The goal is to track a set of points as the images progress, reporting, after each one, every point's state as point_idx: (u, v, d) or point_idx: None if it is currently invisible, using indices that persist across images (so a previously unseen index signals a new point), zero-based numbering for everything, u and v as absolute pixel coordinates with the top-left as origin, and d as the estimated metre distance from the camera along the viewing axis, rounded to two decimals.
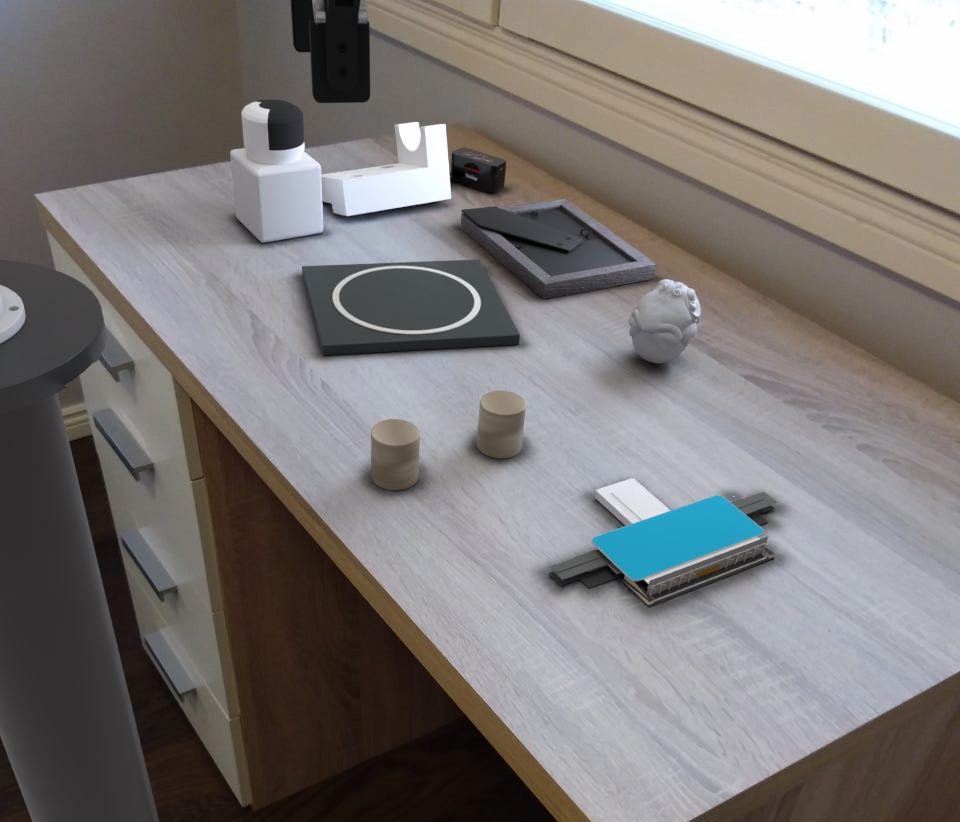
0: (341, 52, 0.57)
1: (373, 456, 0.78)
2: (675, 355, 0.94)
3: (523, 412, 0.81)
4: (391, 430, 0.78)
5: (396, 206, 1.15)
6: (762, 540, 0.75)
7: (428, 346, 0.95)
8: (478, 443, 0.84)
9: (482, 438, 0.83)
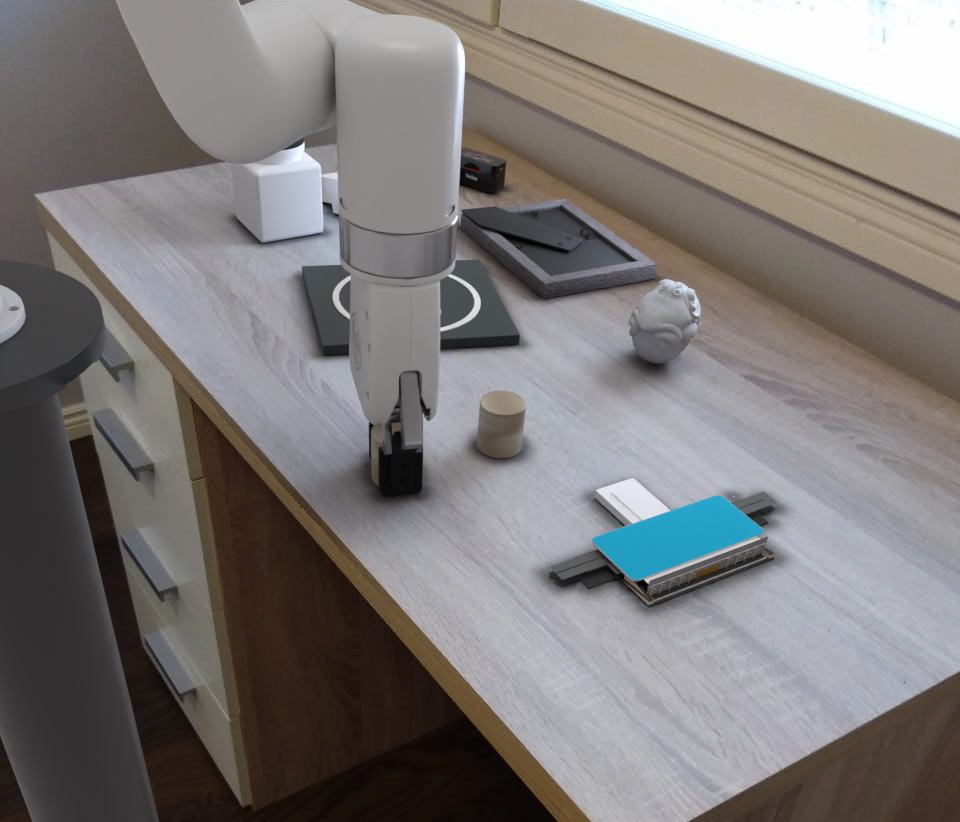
0: (402, 469, 0.76)
1: (373, 456, 0.78)
2: (675, 355, 0.94)
3: (523, 412, 0.81)
4: None
5: None
6: (762, 540, 0.75)
7: None
8: (478, 443, 0.84)
9: (482, 438, 0.83)
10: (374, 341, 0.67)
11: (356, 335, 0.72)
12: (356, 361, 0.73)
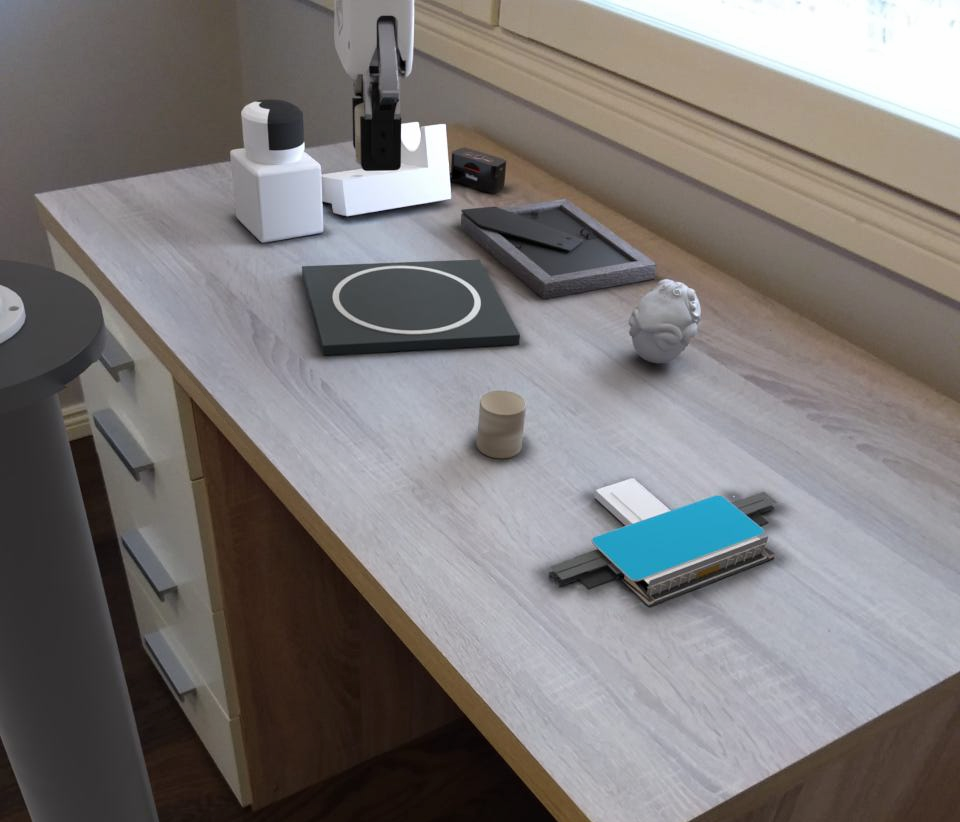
0: (381, 138, 0.83)
1: (356, 133, 0.85)
2: (675, 355, 0.94)
3: (523, 412, 0.81)
4: None
5: (396, 206, 1.15)
6: (762, 540, 0.75)
7: (428, 346, 0.95)
8: (478, 443, 0.84)
9: (482, 438, 0.83)
10: None
11: None
12: (339, 26, 0.80)
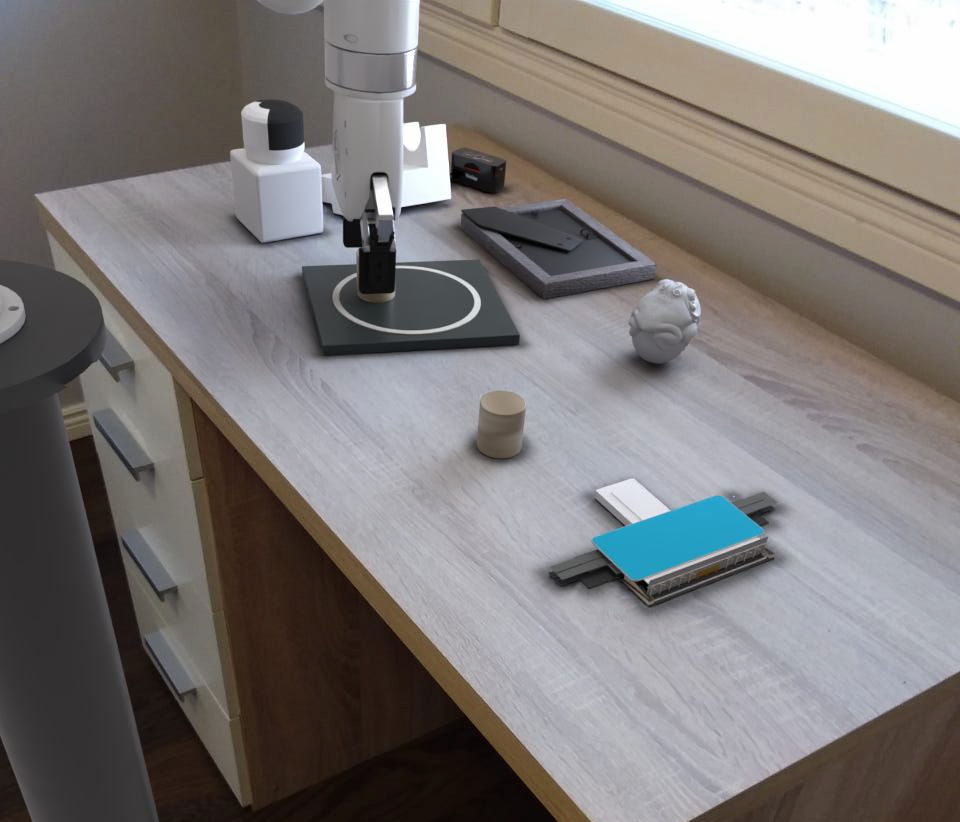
0: (378, 267, 0.92)
1: (358, 273, 0.98)
2: (675, 355, 0.94)
3: (523, 412, 0.81)
4: None
5: None
6: (762, 540, 0.75)
7: (428, 346, 0.95)
8: (478, 443, 0.84)
9: (482, 438, 0.83)
10: (351, 144, 0.86)
11: (337, 149, 0.90)
12: (337, 173, 0.92)
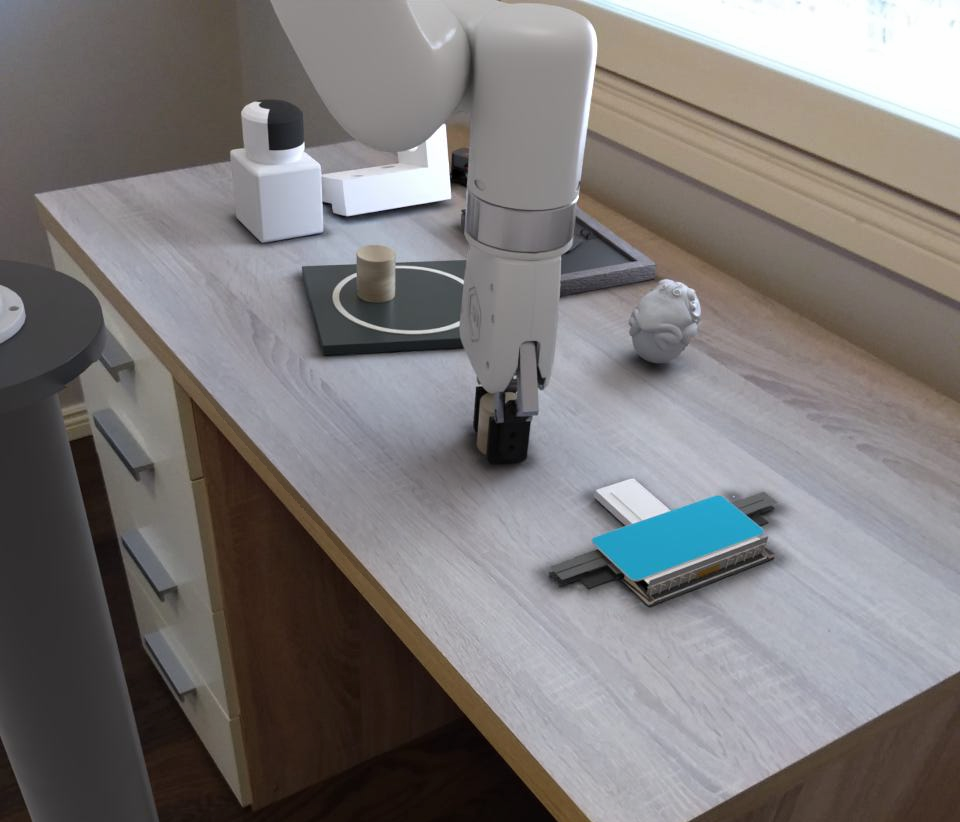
0: (511, 438, 0.80)
1: (358, 273, 0.98)
2: (675, 355, 0.94)
3: None
4: (372, 252, 0.97)
5: (396, 206, 1.15)
6: (762, 540, 0.75)
7: (428, 346, 0.95)
8: (478, 443, 0.84)
9: (482, 438, 0.83)
10: (498, 312, 0.71)
11: (474, 308, 0.76)
12: (472, 333, 0.77)
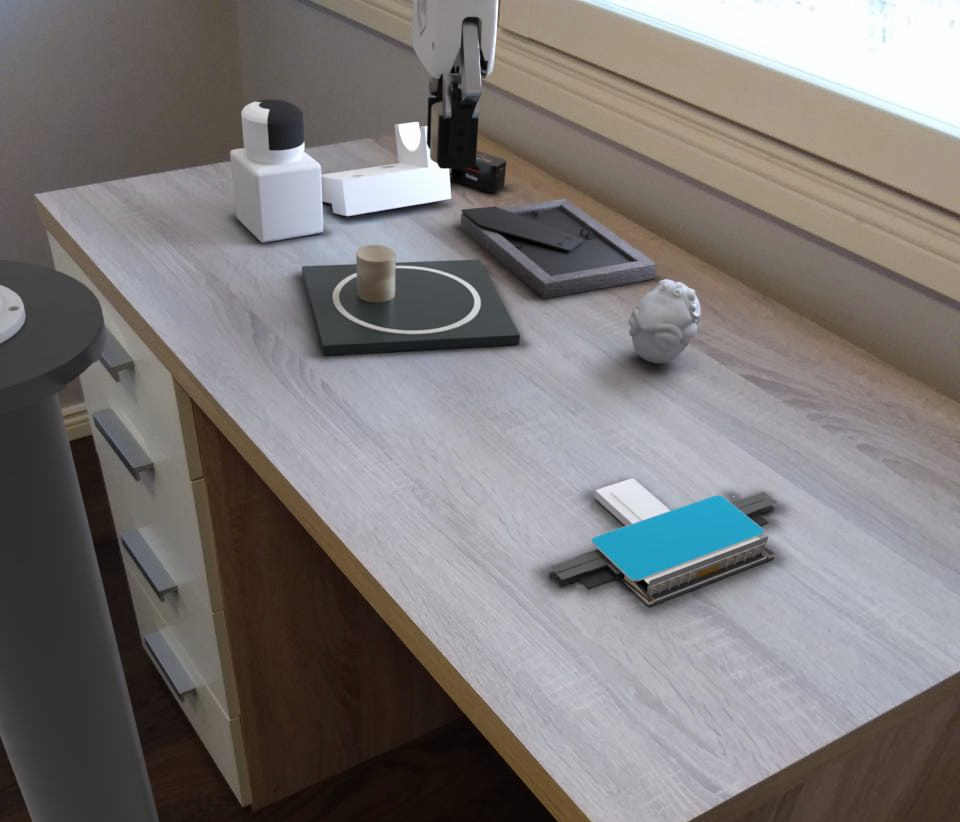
0: (459, 137, 0.85)
1: (358, 273, 0.98)
2: (675, 355, 0.94)
3: None
4: (372, 252, 0.97)
5: (396, 206, 1.15)
6: (762, 540, 0.75)
7: (428, 346, 0.95)
8: (431, 152, 0.88)
9: (434, 145, 0.88)
10: None
11: None
12: (421, 27, 0.82)
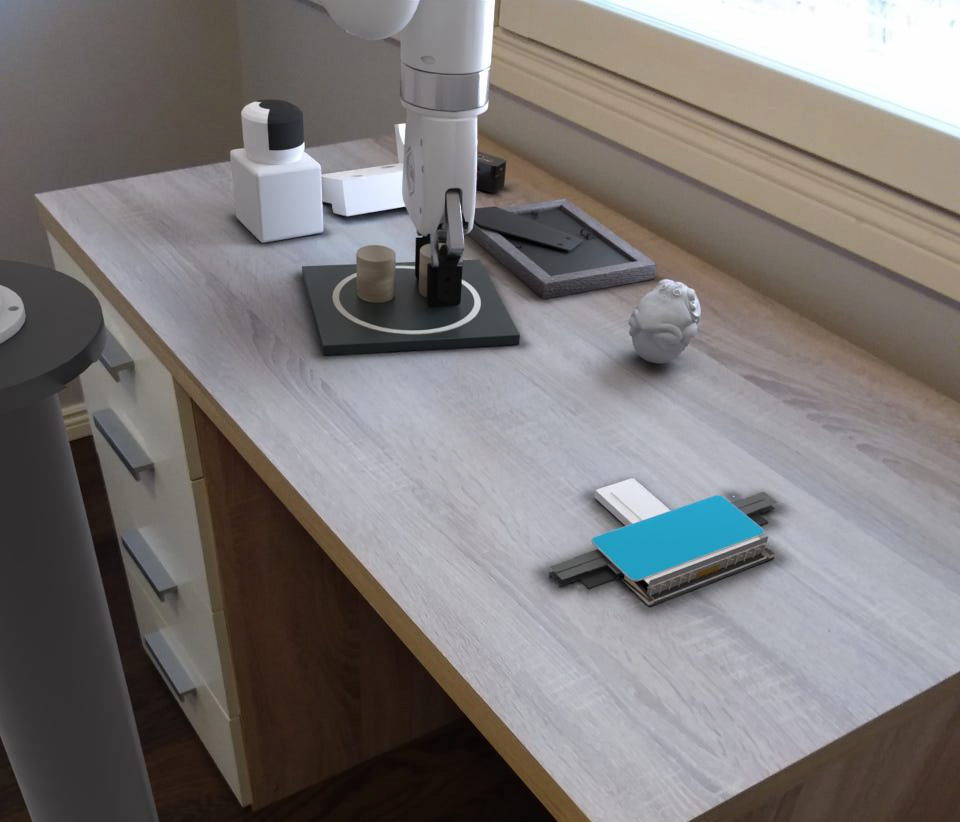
0: (446, 281, 0.97)
1: (358, 273, 0.98)
2: (675, 355, 0.94)
3: None
4: (372, 252, 0.97)
5: (396, 206, 1.15)
6: (762, 540, 0.75)
7: (428, 346, 0.95)
8: (420, 287, 1.00)
9: (422, 282, 0.99)
10: (427, 162, 0.88)
11: (410, 166, 0.92)
12: (410, 189, 0.94)
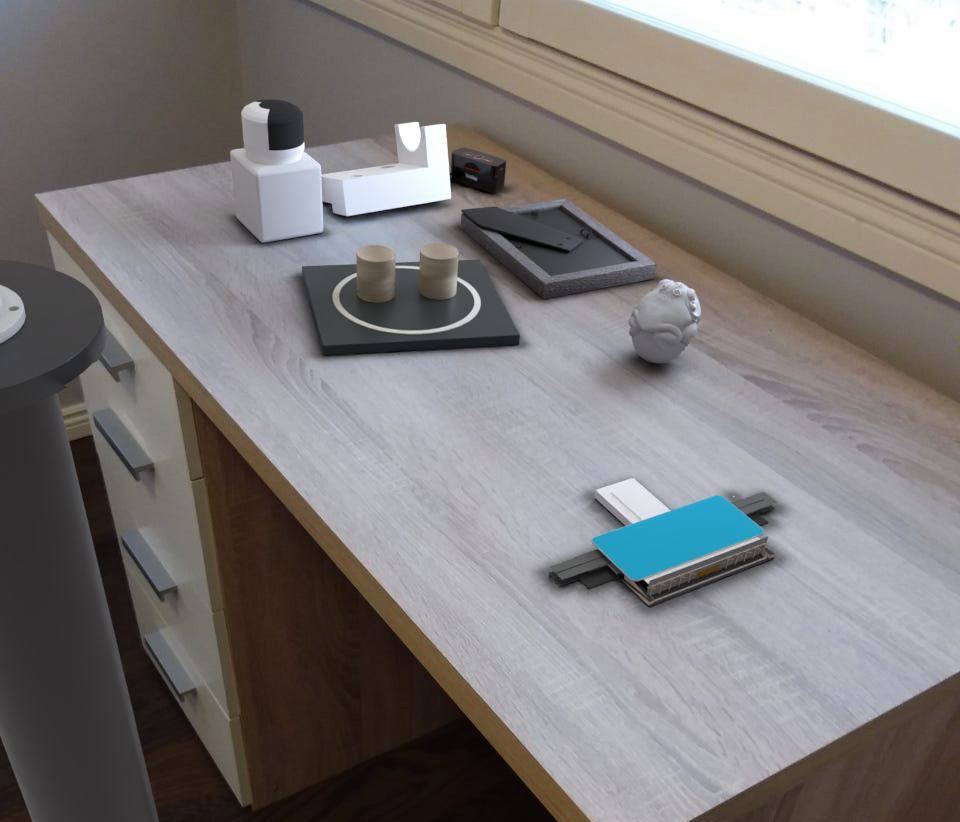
0: None
1: (358, 273, 0.98)
2: (675, 355, 0.94)
3: (456, 258, 0.98)
4: (372, 252, 0.97)
5: (396, 206, 1.15)
6: (762, 540, 0.75)
7: (428, 346, 0.95)
8: (420, 287, 1.00)
9: (422, 282, 0.99)
10: None
11: None
12: None
